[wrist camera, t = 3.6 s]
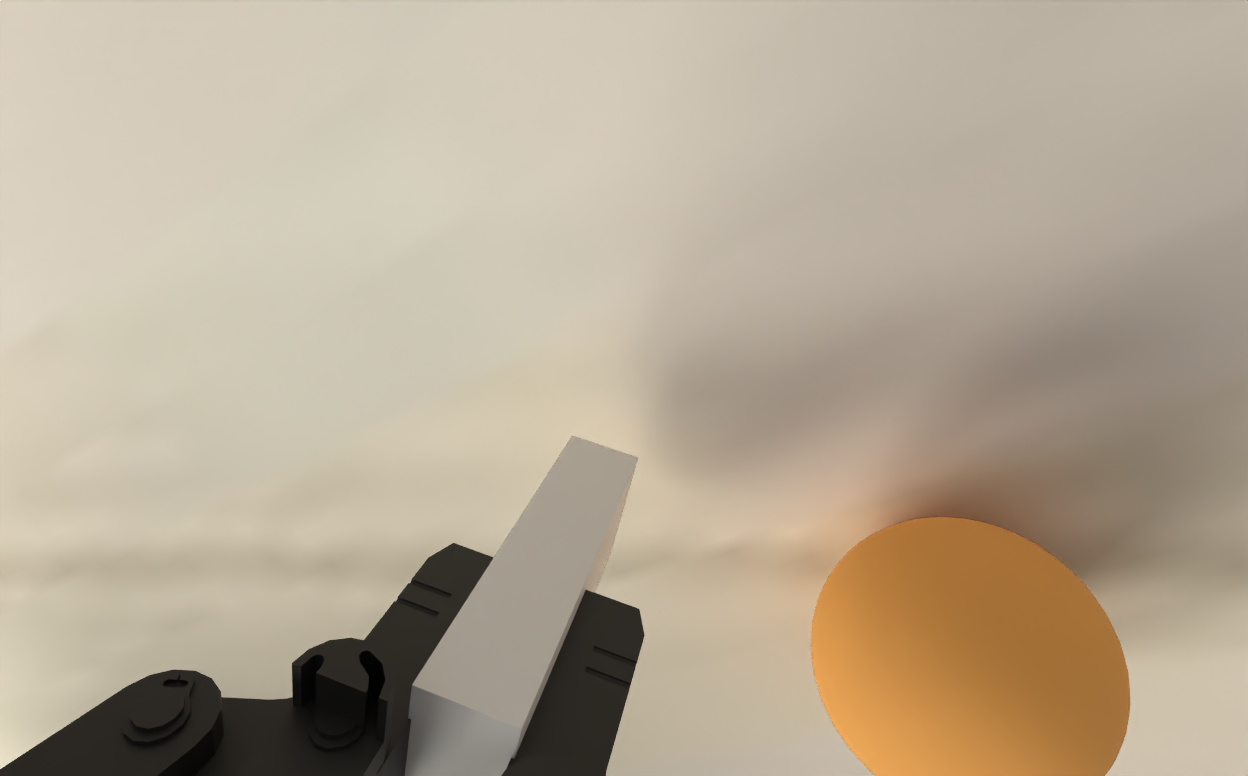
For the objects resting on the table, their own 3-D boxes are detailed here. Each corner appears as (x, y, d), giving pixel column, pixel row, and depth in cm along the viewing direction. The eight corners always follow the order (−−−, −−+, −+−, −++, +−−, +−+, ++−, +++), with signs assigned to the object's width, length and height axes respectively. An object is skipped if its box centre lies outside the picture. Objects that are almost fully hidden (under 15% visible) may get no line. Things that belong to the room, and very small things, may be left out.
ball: (988, 684, 16) (1067, 938, 12) (776, 605, 17) (767, 816, 12) (1119, 519, 14) (1291, 755, 9) (864, 432, 14) (896, 611, 10)
